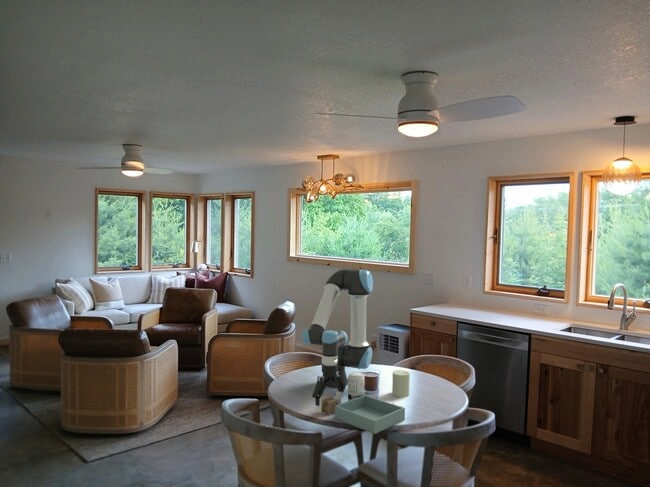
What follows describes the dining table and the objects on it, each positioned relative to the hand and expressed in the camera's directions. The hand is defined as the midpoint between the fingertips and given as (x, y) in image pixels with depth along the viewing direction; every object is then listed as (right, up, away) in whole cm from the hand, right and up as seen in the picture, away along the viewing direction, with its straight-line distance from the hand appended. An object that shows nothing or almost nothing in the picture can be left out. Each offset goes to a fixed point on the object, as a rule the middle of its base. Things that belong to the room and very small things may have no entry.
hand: (328, 408), depth 227 cm
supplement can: (+13, -2, +11) cm, 17 cm away
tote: (+18, -2, -8) cm, 20 cm away
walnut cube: (0, -2, 0) cm, 2 cm away
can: (+38, -2, +26) cm, 46 cm away
